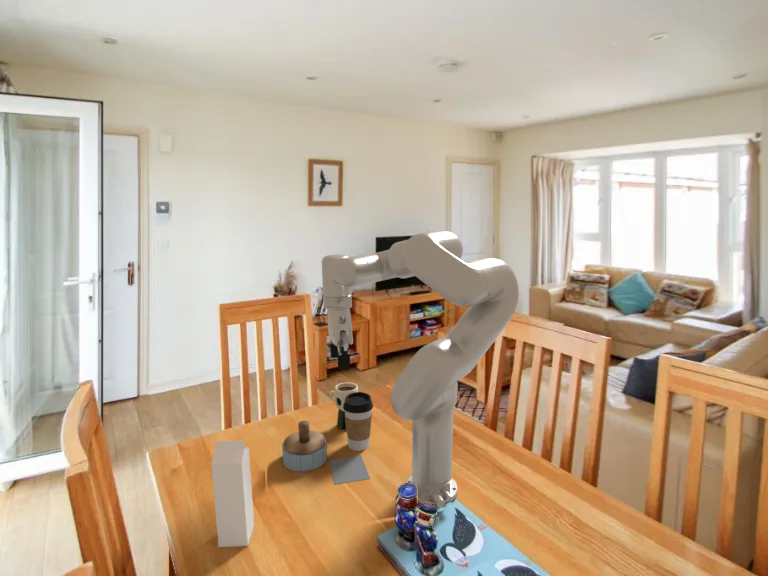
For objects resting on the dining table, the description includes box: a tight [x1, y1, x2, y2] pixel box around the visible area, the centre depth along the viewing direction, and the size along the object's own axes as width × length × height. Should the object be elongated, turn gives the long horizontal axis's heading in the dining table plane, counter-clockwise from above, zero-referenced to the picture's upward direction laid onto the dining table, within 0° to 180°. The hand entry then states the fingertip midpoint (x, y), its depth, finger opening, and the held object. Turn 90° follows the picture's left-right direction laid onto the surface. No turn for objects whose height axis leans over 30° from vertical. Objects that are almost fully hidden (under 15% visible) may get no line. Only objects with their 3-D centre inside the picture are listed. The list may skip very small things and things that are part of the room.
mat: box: [328, 455, 371, 485], centre depth 120 cm, size 11×9×1 cm
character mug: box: [329, 382, 359, 430], centre depth 143 cm, size 11×7×13 cm, turn 76°
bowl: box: [281, 439, 328, 472], centre depth 125 cm, size 12×12×5 cm
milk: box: [210, 439, 255, 548], centre depth 95 cm, size 6×6×22 cm
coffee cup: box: [343, 391, 374, 452], centre depth 131 cm, size 8×8×15 cm
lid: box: [283, 420, 326, 455], centre depth 124 cm, size 11×11×6 cm
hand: (340, 362), depth 126 cm, fingers open, 9 cm apart
